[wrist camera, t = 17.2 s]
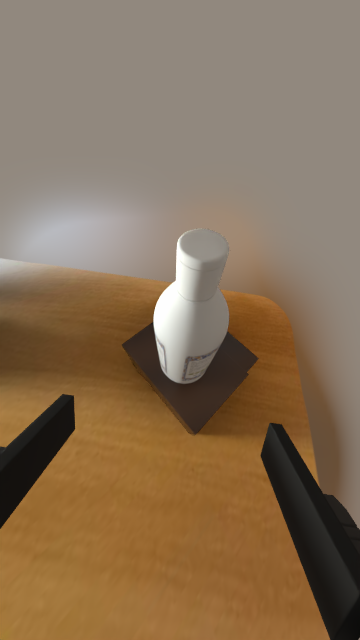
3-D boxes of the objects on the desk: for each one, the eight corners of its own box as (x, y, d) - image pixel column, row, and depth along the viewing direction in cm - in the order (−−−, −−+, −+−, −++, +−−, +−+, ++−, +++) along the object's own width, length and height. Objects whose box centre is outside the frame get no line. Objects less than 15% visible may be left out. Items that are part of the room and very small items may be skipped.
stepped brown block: (133, 364, 37) (121, 344, 28) (193, 316, 43) (198, 288, 34) (189, 433, 31) (195, 435, 23) (248, 366, 37) (271, 348, 29)
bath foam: (214, 350, 28) (279, 228, 11) (196, 393, 25) (248, 315, 8) (173, 332, 30) (175, 198, 12) (151, 370, 26) (113, 261, 9)
